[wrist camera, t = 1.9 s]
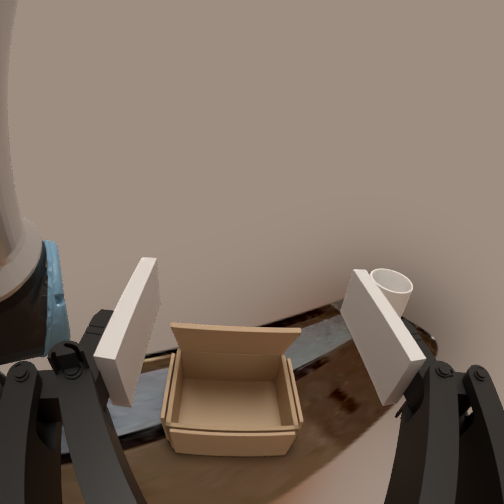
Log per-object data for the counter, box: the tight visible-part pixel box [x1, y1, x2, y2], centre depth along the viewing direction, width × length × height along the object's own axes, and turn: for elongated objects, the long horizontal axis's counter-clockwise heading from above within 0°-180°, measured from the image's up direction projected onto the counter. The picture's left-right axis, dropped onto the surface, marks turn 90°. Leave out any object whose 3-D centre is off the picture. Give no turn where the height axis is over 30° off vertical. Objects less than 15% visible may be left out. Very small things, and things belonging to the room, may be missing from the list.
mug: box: [370, 269, 413, 318], centre depth 49 cm, size 12×8×12 cm
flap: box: [171, 322, 301, 355], centre depth 32 cm, size 13×1×10 cm, turn 93°
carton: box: [161, 348, 303, 456], centre depth 33 cm, size 15×13×6 cm
